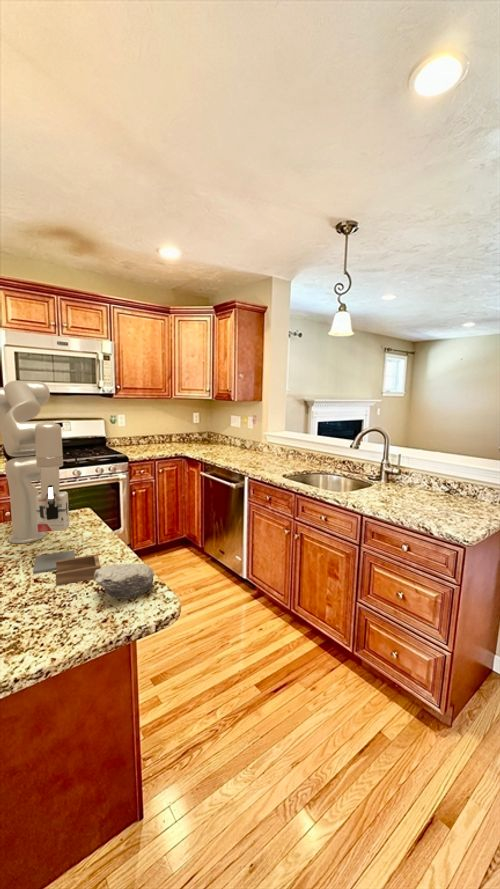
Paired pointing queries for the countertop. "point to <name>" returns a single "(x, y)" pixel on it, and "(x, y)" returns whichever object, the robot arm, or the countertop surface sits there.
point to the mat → (50, 561)
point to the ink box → (53, 524)
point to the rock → (125, 579)
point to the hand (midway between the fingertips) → (52, 515)
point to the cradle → (76, 569)
